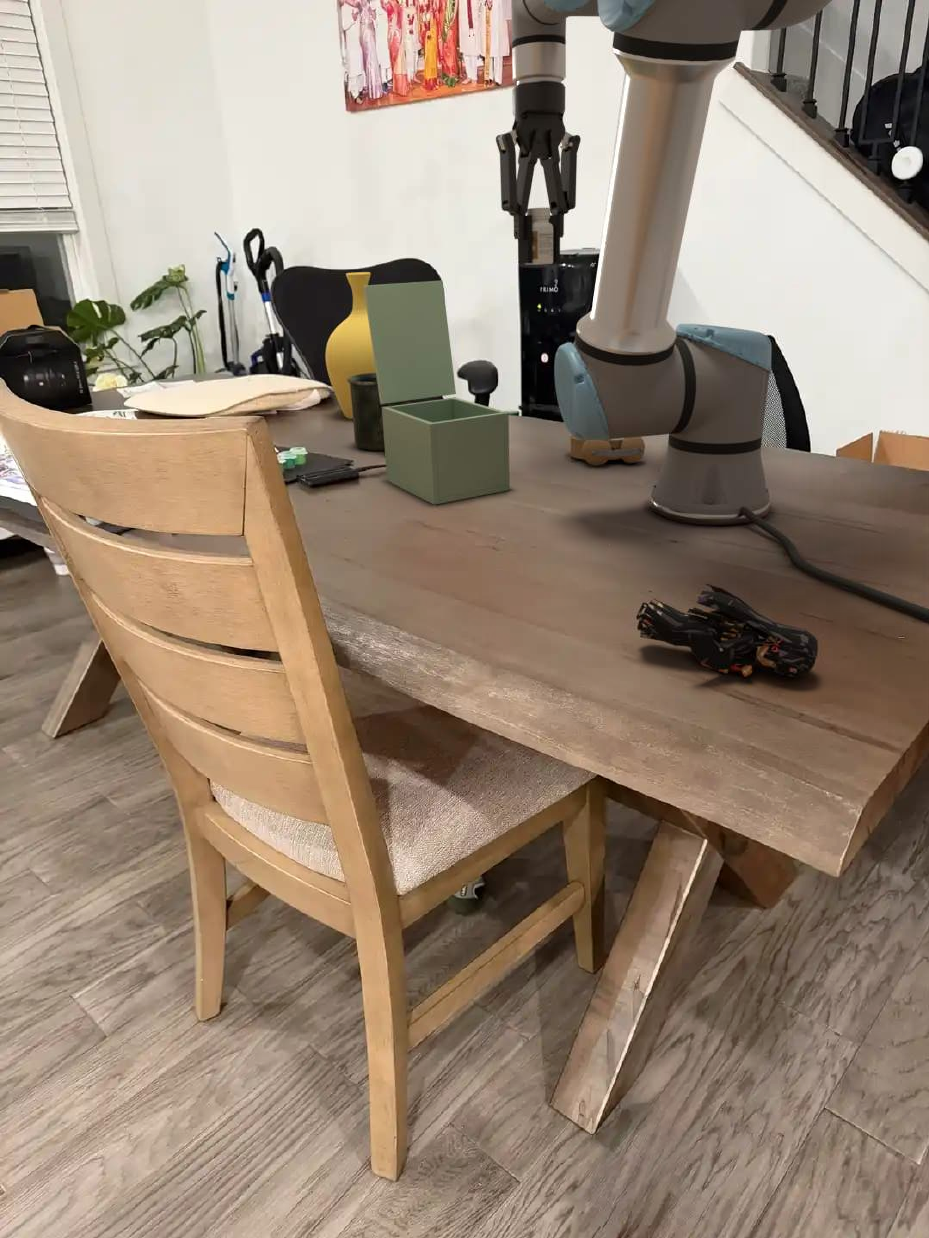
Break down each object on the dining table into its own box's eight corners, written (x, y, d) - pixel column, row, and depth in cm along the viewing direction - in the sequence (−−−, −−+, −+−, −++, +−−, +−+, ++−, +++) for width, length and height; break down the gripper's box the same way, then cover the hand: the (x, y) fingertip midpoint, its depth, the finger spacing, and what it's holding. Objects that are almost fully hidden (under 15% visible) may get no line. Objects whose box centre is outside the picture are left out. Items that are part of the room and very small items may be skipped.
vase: (373, 405, 190) (363, 270, 178) (422, 412, 179) (415, 270, 168) (315, 417, 179) (300, 275, 168) (364, 426, 169) (352, 275, 157)
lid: (442, 280, 127) (440, 281, 127) (365, 285, 121) (363, 286, 122) (456, 394, 131) (453, 394, 132) (382, 404, 126) (380, 404, 126)
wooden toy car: (626, 429, 145) (656, 431, 131) (626, 458, 146) (657, 463, 132) (562, 433, 144) (586, 436, 129) (563, 462, 145) (587, 468, 131)
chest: (509, 490, 124) (508, 412, 119) (434, 505, 118) (429, 424, 114) (457, 468, 136) (455, 397, 132) (387, 481, 131) (381, 407, 126)
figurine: (621, 643, 70) (811, 686, 65) (643, 557, 71) (832, 592, 66) (635, 661, 78) (805, 700, 73) (655, 583, 79) (824, 616, 74)
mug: (408, 436, 159) (404, 370, 154) (419, 453, 146) (415, 383, 141) (350, 440, 157) (345, 374, 152) (357, 458, 144) (350, 387, 139)
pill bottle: (519, 265, 130) (518, 209, 127) (544, 263, 132) (544, 208, 129) (533, 265, 126) (532, 207, 123) (558, 263, 128) (558, 207, 125)
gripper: (572, 91, 126) (570, 260, 136) (472, 85, 119) (477, 265, 128) (604, 82, 120) (599, 260, 130) (500, 75, 113) (503, 265, 122)
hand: (539, 262), depth 129 cm, fingers closed on pill bottle, 4 cm apart
